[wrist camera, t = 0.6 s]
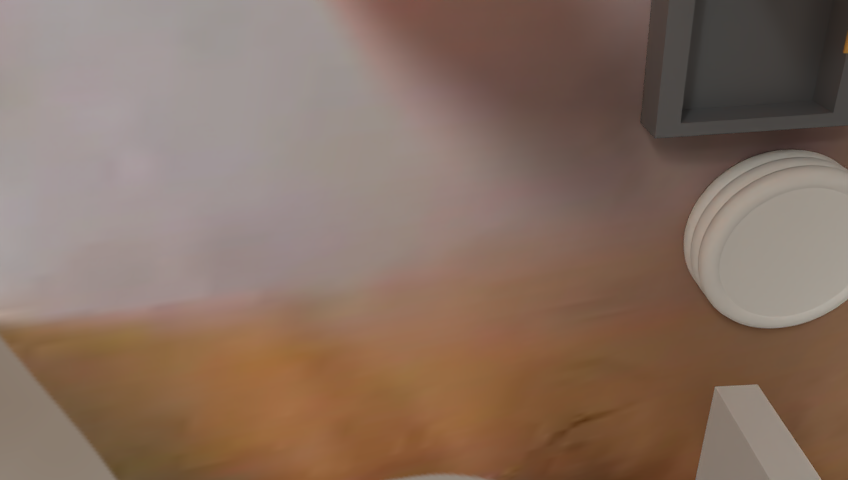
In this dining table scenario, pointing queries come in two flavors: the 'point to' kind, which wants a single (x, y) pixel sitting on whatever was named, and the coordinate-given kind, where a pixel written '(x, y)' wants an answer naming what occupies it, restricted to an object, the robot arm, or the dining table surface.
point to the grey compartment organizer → (745, 66)
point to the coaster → (772, 239)
